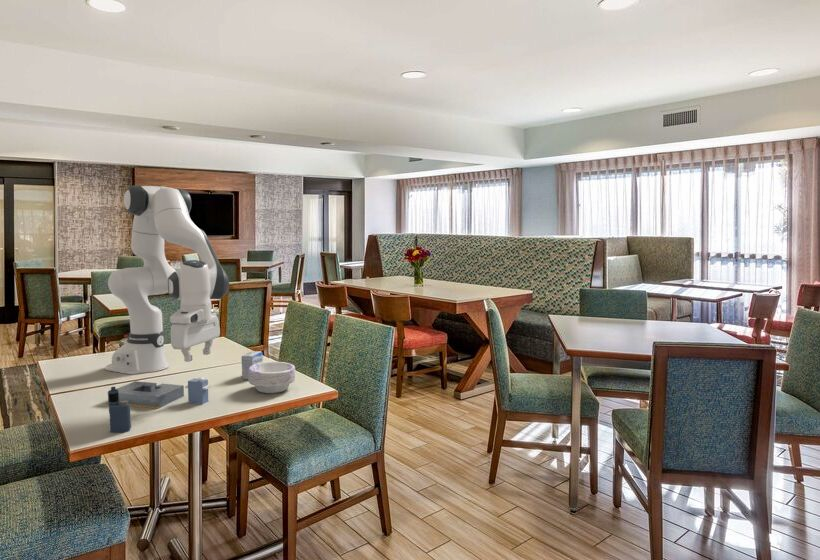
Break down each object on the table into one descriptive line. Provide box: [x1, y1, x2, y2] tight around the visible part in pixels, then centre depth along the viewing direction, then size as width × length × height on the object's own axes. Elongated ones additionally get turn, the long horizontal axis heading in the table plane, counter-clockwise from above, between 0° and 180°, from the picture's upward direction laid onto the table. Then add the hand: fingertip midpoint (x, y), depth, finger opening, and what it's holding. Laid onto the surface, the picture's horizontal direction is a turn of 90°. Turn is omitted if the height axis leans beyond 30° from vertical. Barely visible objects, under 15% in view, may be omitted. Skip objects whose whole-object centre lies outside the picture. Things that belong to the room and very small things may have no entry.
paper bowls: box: [248, 361, 296, 394], centre depth 183 cm, size 15×15×8 cm
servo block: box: [184, 377, 212, 405], centre depth 169 cm, size 7×3×8 cm, turn 77°
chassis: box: [106, 380, 185, 409], centre depth 170 cm, size 18×13×4 cm
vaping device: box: [107, 386, 132, 433], centre depth 145 cm, size 3×5×12 cm, turn 95°
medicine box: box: [241, 350, 264, 381], centre depth 197 cm, size 8×4×9 cm, turn 168°
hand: (197, 357), depth 168 cm, fingers open, 8 cm apart
